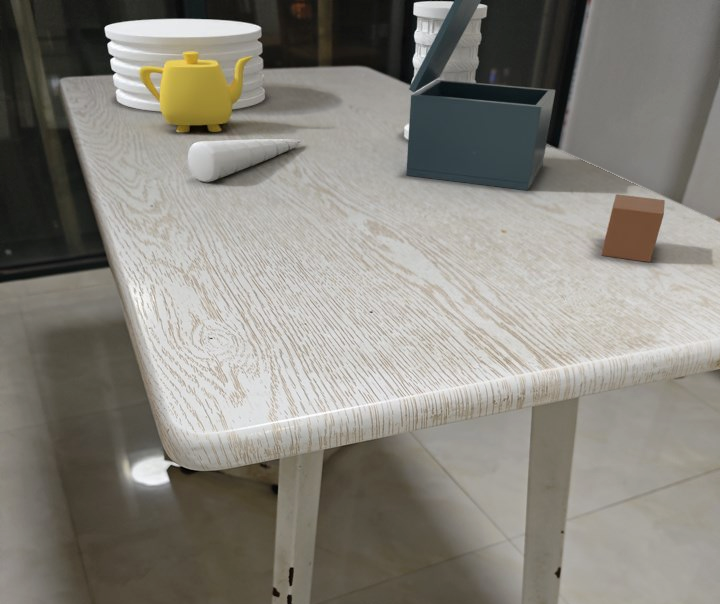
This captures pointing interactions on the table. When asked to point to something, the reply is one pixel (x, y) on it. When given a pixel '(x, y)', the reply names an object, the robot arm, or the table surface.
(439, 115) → the slate grey rectangular box
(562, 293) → the table surface
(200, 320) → the table surface
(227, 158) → the unicorn horn
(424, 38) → the decorative container
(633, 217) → the carton
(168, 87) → the teapot
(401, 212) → the table surface
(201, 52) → the plate stack
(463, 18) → the lid
